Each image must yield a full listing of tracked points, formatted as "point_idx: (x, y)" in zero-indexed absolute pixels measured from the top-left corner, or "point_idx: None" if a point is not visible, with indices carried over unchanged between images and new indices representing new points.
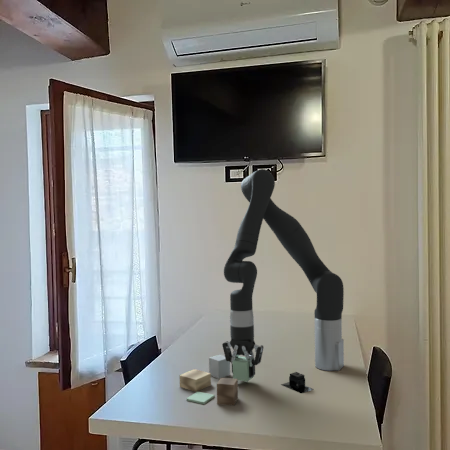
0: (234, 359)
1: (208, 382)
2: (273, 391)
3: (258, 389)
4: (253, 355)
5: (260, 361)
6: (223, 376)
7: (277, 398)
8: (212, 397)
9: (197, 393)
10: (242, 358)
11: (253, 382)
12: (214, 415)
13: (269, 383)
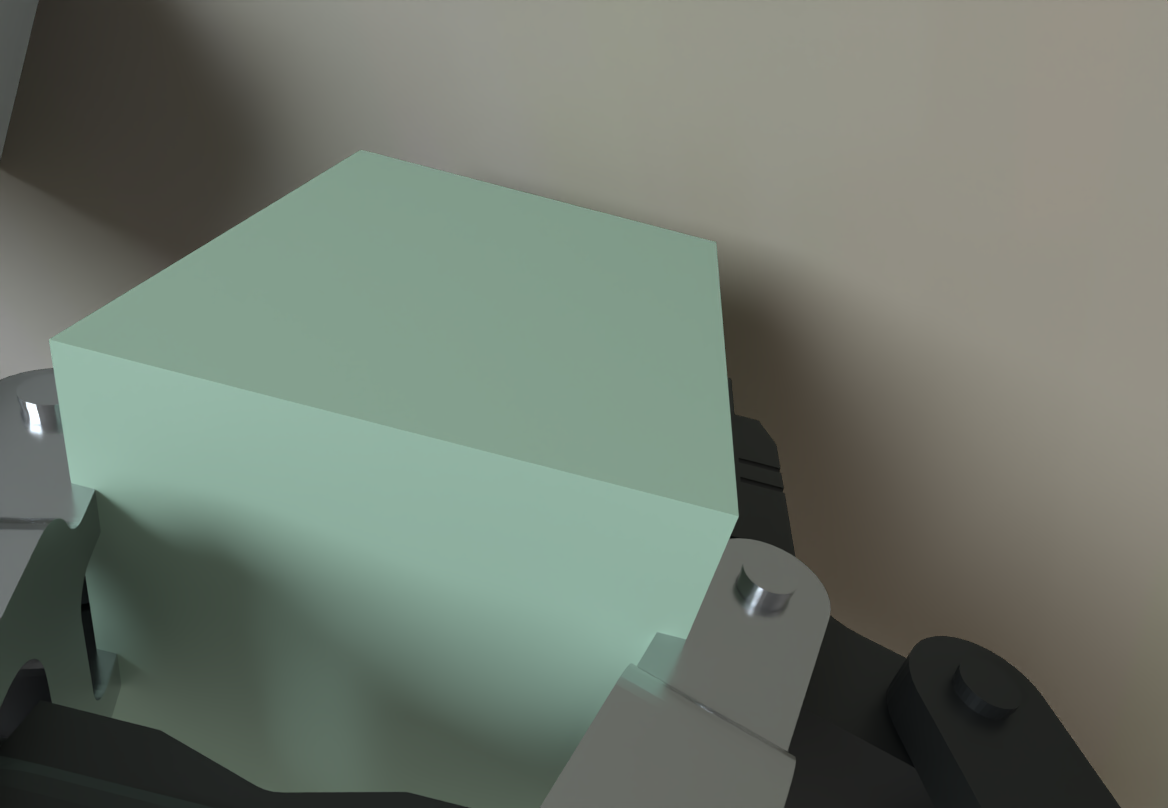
0: (97, 683)
1: None
2: (1080, 559)
3: (826, 518)
4: (778, 801)
5: (1042, 734)
6: (9, 59)
7: (1106, 741)
8: None
9: None
10: (295, 561)
11: (702, 234)
12: None
13: (1047, 229)
